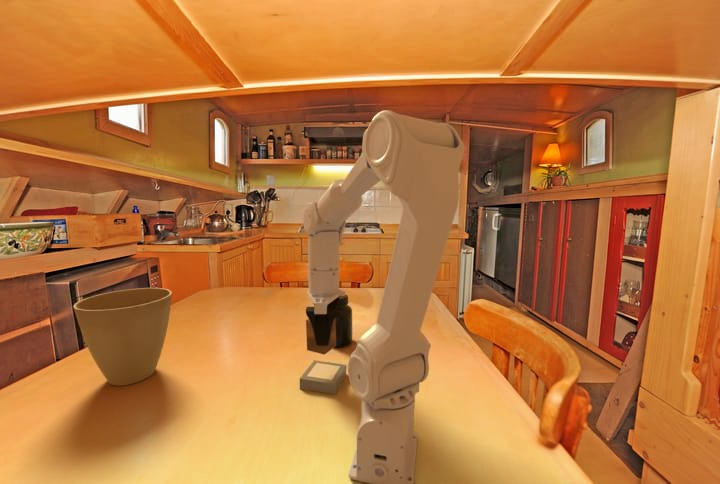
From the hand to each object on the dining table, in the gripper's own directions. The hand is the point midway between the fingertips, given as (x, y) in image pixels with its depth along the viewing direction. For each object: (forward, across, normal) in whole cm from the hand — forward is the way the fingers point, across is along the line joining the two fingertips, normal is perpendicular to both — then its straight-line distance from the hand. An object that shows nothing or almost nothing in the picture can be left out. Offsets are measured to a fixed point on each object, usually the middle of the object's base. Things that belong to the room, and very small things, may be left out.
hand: (323, 337), depth 58 cm
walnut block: (+2, 0, 0) cm, 2 cm away
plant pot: (+9, +3, +38) cm, 39 cm away
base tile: (+9, 0, 0) cm, 9 cm away
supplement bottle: (+9, +17, -2) cm, 19 cm away
